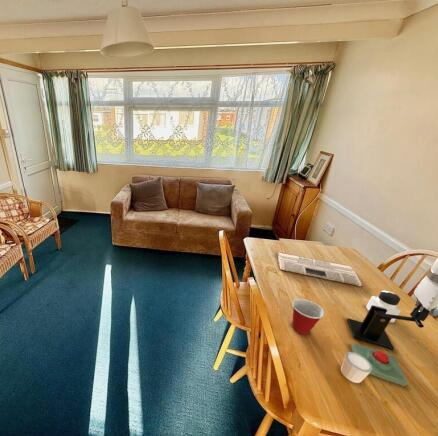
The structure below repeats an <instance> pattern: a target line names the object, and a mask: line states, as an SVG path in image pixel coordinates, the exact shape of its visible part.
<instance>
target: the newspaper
mask: <svg viewBox="0 0 438 436" xmlns="http://www.w3.org/2000/svg"><path fill="white" fill-rule="evenodd" d="M277 259H278V265H279V268H280V270H282V271H285V272H291V273H296V274H301V275H306V276H310V277H315V278H319V279H324V280H327V281H328V280H330V281H333V282H339V283H343V284H348V285H353V286H357V287H362V281H361V279H360V278H359V277H358V275H357V273H356V271H355V270H354V269H353V268H352V266H349V265H345V264H341V263H340V264H339V263H335V262H328V261H325V260H324V261H323V260H319V259H313V258H308V257H303V256H298V255H292V254H288V253H281V252H277Z"/></svg>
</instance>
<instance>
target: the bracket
mask: <svg viewBox="0 0 438 436" xmlns="http://www.w3.org/2000/svg"><path fill="white" fill-rule="evenodd" d="M374 310H380V311H384V312H385V314H386V312H387V309H385V308H381V307H377V306H373V305H372V306H371V308H370V310H369V311H368V310H367V311H368V312H367V313H366V315H365V316H364V319H363V320H362V321H359V320H356V319H352V318H348V317H347V318H346V322H347V325H348V328H349V329H350V330H349V331H350V332H351V336H352V338H353V339H355V340H358V341H360V342H364V343H366V344H367V343H368V344H371V345H374V346H377V347H380V348H384V349H386V350H390V351H394V350H395V348H394V345H393V344H392V342H391V340H390V338H389V336H388V334H387V332H386V328H387V327H388V325H390V323H391V322H390V320H391V319H392V317H391V316H388V315H384V314H381V313H377V312H376V313H375V314H374ZM373 314H374V315H373Z"/></svg>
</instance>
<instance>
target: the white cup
mask: <svg viewBox="0 0 438 436" xmlns="http://www.w3.org/2000/svg"><path fill="white" fill-rule="evenodd" d="M371 371H372V366H371V364H370V363H369V361H368V360H366V359H365V358H364V357H363V356H361V355H359V354H357V353H354V352H353V351H348V352H346V354H345V355H344V359H343V361H342V364H341V367H340V372H341V374H342V375H343V376H344V377H345V379H347V380H348V381H350V382H352V383H354V384H361V382H362V381H363V380H364V379H365V378H367V377H368V375H370V374H369V373H370V372H371Z"/></svg>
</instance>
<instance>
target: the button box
mask: <svg viewBox="0 0 438 436" xmlns="http://www.w3.org/2000/svg"><path fill="white" fill-rule="evenodd" d="M350 348H351V352H354V353H357V354H359V355H361V356H363V357H364V358H365V359H366V360H368V361H369V363H370V364H371V366H372V371H371V372H370V373H369V374H368V375H372V376H374V377H377V378H380V379H383V380H385V381H388V382H391V383H393V384H396V385H399V386H402V387H406V386H407V385H408V383H409V382H408V380H407V378H406V376H405V374H404V372H403V370H402V368H401V366H400V364H399V362H398V361H397V358H396V356H395V355H392V354H389V353H385V352H384V353H385V354H386V355H387V356H388V357H389V361H388V362H387V363H385V364H384V363H381V362H379V361H378V360H376V359H375V358H374V356H373V354H374V353H375V351H379V350H377V349H375V348H370V347H367V346H364V345H361V344H358V343H354V342H353V343H351V345H350Z"/></svg>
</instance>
